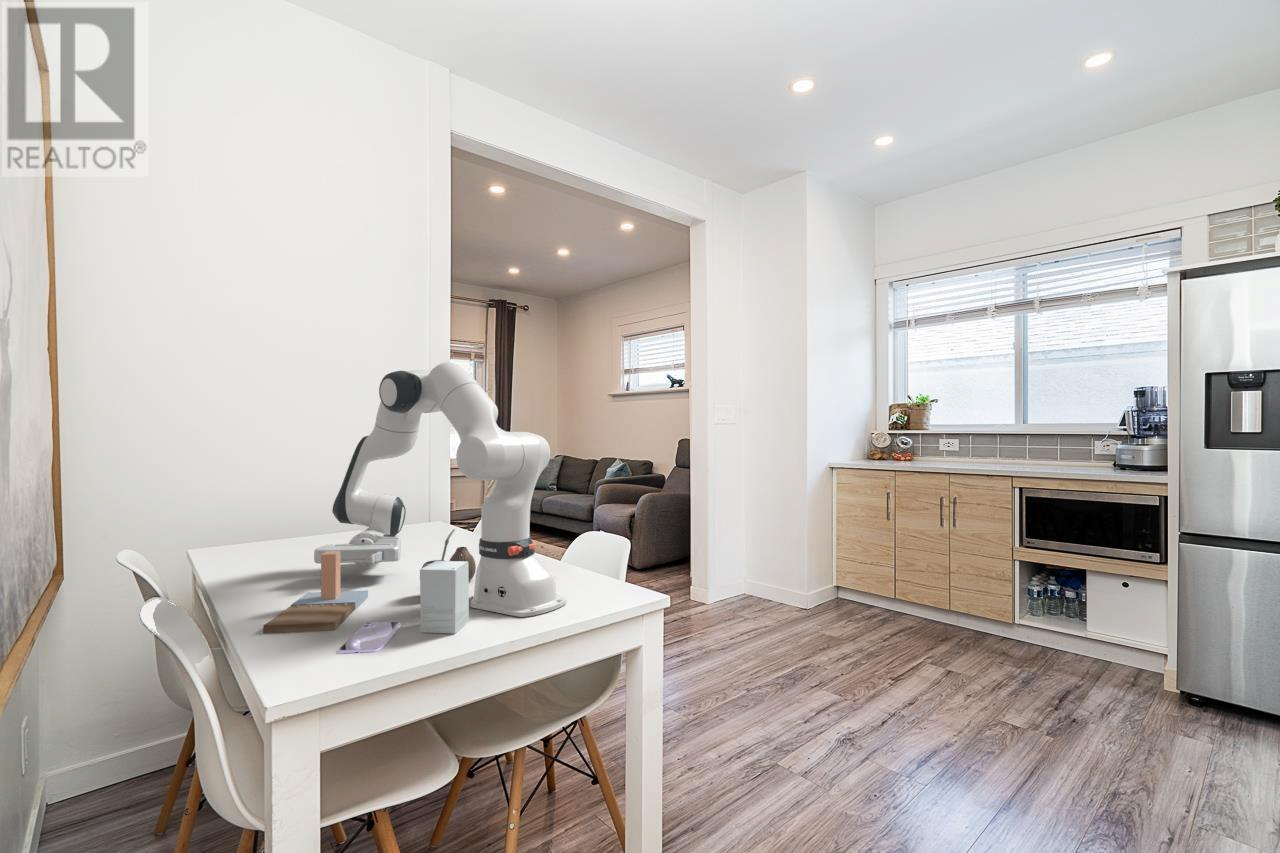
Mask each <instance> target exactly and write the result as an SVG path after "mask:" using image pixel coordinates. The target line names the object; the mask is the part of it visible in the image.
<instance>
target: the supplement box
mask: <svg viewBox="0 0 1280 853" xmlns="http://www.w3.org/2000/svg"><path fill="white" fill-rule="evenodd" d="M421 568H422V567H421ZM421 568H420V569H419V586H420V587H419V588H420V589H419V595H420V596H419V598H420V599H419V602H420V604H419V605H420V606H419V608H420V611H419V612H420V614H419V616H420V617H419V619H420V624H419V626H420V634H421V633H422V634H423V633H429V634H452V635H453V634H456V633H458V632H459V631H460V630H462V628H464V626H466V625H467V624H468V623H469V622H470V615H469V614H470V604H469V601H470V597H469V595H470V594H469V592H470V591H469V584H470V583H469V582H470V581H469V572H468V561H449V560H444V561H434V562H433V563H431V564H429V565H427V566H425V567H424V568H422V569H421ZM466 623H467V624H466ZM465 624H466V625H465Z"/></svg>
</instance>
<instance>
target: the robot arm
mask: <svg viewBox="0 0 1280 853" xmlns="http://www.w3.org/2000/svg"><path fill="white" fill-rule="evenodd" d="M378 393H379V399H380V403H379V405H378V410H377V413H376V417H375V422H374V423H375V424H374V427H373V430H372V431H371V433H370V434H369V435H366V436H362V438H361V439H360V441H359V442H358V443H357V445H356V447H355V449H354V452H353V454H352V456H351V459H350V462H349V464H348V467H347V470H346V472H345V475H344V478H343V480H342V484H341V486H340V488H339V490H338V493H337V495H336V497H335V499H334V501H333V505H332V510H331V511H332V512H331V513H332V514H333V516H334V518H335V519H336V520H337V521H338V522H339V523H341V524H347V525H358V526H362V527H368V528H366V529H364V530H362V531H361V532H358V533H357V534H356V535H354V536H353V537H352V538H351V539H350V540H349V542H348V543H332V544H330V543H329V544H326V545H322V546H320V547H317V548H315V549H314V553H313V557H314V558H313V562H314V563H315V564H318V565H319V564H320V565H321V554H323V553H325V552H330V551H340V564H349V563H351V564H352V563H354V564H356V565H358V566H362V567H366V566H367V567H369V566H370V565H371V566H372V565H373V564H375V565H376V564H378V563H385V562H387V563H388V562H393V563H394V562H398V561H400V559H401V556H402V555H401V551H402V545H401V543H402V542H401V536H400V535H398V534H399V533H400V532H401V531H402V528H403V526H404V522H405V518H406V507H405V504H404V501H403V500H402V498H400V496H394V495H390V494H386V493H379V492H375V491H370V490H366V489H363V488H362V487H361V484H362V480H363V477H364V475H365V472H366V470H367V467H368V465H369V463H370V462H375V461H378V460H379V461H380V460H387V459H395V458H397V457H401V456H403V455H405V454H407V453H409V452H410V451H411V450H412V449H413V448H414V446H415V445H416V442H417V439H418V435H419V432H420V431H419V430H420V425H421V417H422V414H431V413H438V412H441V413H443V414H444V416H445V417H446V419H447V420H448V421H449V422H450V424H451V425H452V427H453V429H454V430H455V431H456V432H457V434H458V437H459V439H460V443H459V445H458V447H457V450H456V457H455V458H456V459H455V460H456V464H457V467H458V469H459V471H460V473H462V475H463V476H465V477H466V478H469V479H472V480H478V481H486V482H488V481H496V482H495V484H494V487H493V489H492V491H491V494H490V495H489V496H488V497H487V498H486V499H485V500H484V502H483V503H482V505H481V510H480V512H481V518H480V519H481V523H480V524H481V527H480V528H481V529H480V530H481V534H480V536H481V537H480V538H479V540H478V554H479V555H480V559H479V563H478V565H477V568H476V569H475V579H474V580H475V582H474V593H473V599H472V600H470V604H469V608H473V609H478V610H483V611H489V612H492V613H493V612H495V613H498V614H503V615H509V616H513V617H518V618H519V617H520V618H524V617H530V616H538V615H541V614H545V613H548V612H551V611H554V610H556V609H559V608H561V607H563V606H565V605H566V604H567V598H566V597H565V596H563V595H560V594H558V593H557V588H556V587H557V586H556V580H555V576H554V575H553V574H552V572H551V571H550V570H549V569H548V568H547V567H546V566H545V564H543V563H542V562H541V560H540V559H539V558H538V556H536V554H535V553H536V551H535V549H538V546H537V545H538V542H535V543H533V539H532V536H530V533H531V532H530V531H531V530H530V525H531V522H530V520H531V505H532V499H533V495H534V491H535V488H536V485H537V483H538V480H539V477H540V475H541V474H542V472H543V471H544V470H545V468H547V466H548V465H549V462H550V459H551V448H550V444H549V443H548V441H547V440H546V438H544V437H543V436H541V435H539V434H536V433H532V432H530V431H529V432H528V431H506V430H504V429H502V428H501V427H499V425H498V424H497V420H498V416H499V409H498V406H497V405H496V403H495V402H494V400H492V398H491V397H490V396H489V395H488V393H487V392H486V391H485V390H484V389H483V388H482V386H481V385H480V384H479V383H478V381H477V380H476V379H475V378H474V377H473V376H472V375H471V374H470V373H468V372H467V370H465V369H464V368H462V367H461V366H460V365H458V364H456V363H454V362H451V361H450V362H448V361H446V362H442V363H439V364H437V365H435V366H434V367H433V368H431V370H425V369H416V370H415V369H414V370H396V371H392V372H389V373H387V374H385V375H384V377H383V378H382V379H381V381H380V383H379V387H378Z"/></svg>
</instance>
